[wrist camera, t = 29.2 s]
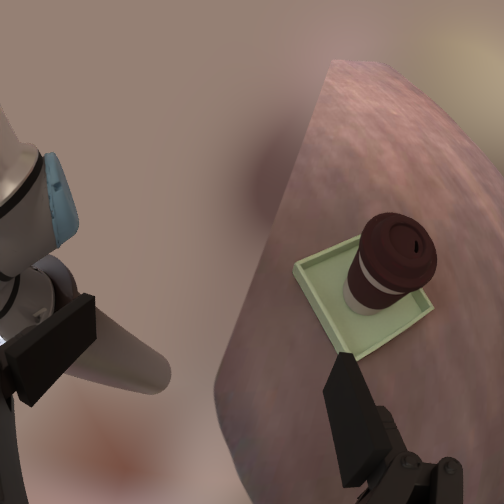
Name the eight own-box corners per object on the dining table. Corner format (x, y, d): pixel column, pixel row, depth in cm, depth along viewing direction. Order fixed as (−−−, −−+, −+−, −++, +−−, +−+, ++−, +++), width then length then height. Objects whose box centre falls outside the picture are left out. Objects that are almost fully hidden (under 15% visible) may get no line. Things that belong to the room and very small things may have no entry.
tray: (292, 272, 44) (294, 262, 41) (373, 236, 47) (379, 225, 44) (344, 367, 36) (352, 364, 34) (424, 315, 40) (434, 308, 37)
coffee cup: (319, 288, 42) (348, 228, 29) (363, 253, 45) (399, 191, 32) (363, 339, 38) (414, 299, 25) (404, 298, 41) (456, 249, 28)
